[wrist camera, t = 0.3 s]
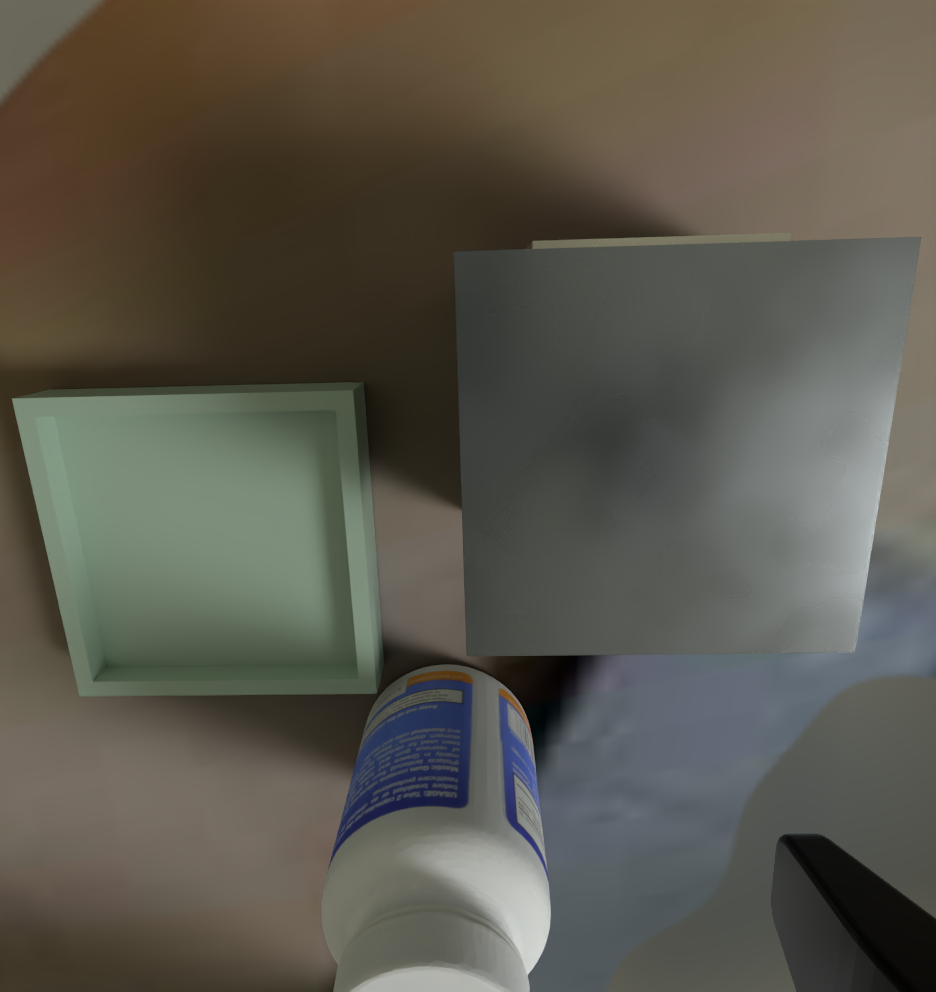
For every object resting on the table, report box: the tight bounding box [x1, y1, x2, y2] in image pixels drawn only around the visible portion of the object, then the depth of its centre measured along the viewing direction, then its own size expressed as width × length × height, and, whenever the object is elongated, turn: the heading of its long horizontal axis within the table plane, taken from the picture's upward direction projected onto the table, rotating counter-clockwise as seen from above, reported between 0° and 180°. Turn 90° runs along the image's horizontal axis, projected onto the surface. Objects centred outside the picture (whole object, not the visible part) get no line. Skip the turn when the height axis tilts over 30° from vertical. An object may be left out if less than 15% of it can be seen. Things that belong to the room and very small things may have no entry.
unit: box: [454, 233, 921, 656], centre depth 15 cm, size 8×7×8 cm
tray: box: [12, 382, 384, 696], centre depth 20 cm, size 9×9×2 cm
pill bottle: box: [321, 664, 551, 992], centre depth 18 cm, size 5×5×10 cm
